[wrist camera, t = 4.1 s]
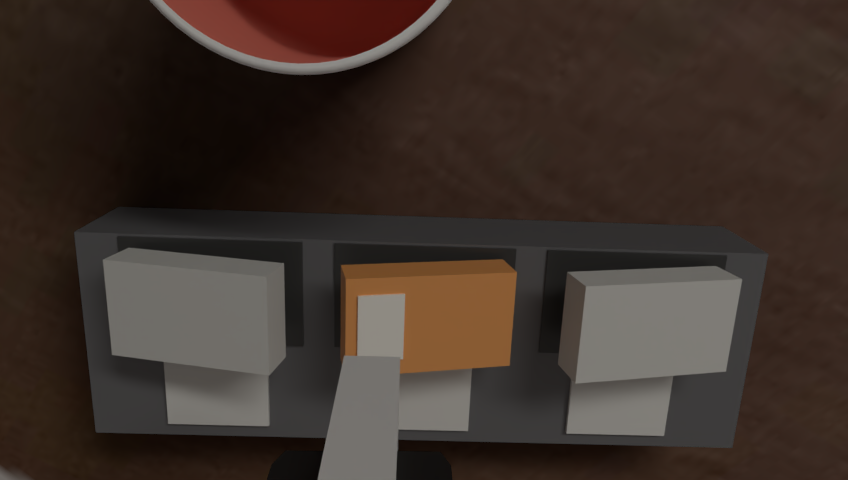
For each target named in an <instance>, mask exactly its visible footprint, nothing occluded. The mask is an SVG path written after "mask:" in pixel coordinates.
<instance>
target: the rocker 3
mask: <svg viewBox="0 0 848 480" xmlns="http://www.w3.org/2000/svg"><path fill="white" fill-rule="evenodd" d="M741 284H742V279H741V278H739V277H737V276H735V275H733V274H731V273H729V272H727V271H725V270H723V269H721V268H719V267H717V266H701V267H676V268H651V269H627V270H602V271H577V272H567V279H566V289H565V299H564V308H563V318H562V328H561V338H560V348H559V358H558V365H559V366H560V367H561V368H562V369H563V371H564V372H565V373H566V374H567V375H568V376H569V377H570V378H571V379H572V381H573V382H574V383H575V384H577V383H590V382H602V381H615V380H627V379H639V378H652V377H664V376H677V375H689V374H701V373H714V372H726V368H727V362H728V357H729V351H730V346H731V340H732V334H733V329H734V323H735V317H736V312H737V306H738V301H739V295H740V289H741Z"/></svg>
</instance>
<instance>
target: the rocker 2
mask: <svg viewBox="0 0 848 480" xmlns="http://www.w3.org/2000/svg"><path fill="white" fill-rule="evenodd" d="M516 279H517V272H516V271H515V270H514V269H513V268H512V267H511V266H510V265H508V264H507V263H506V262H505V261H504V260H503V259H496V260H467V261H439V262H411V263H382V264H354V265H341V339H340V359H341V363H343V358H344V356H385V357H400V374H402V373H416V372H429V371H443V370H457V369H471V368H485V367H498V366H510V353H511V341H512V329H513V316H514V304H515V291H516Z"/></svg>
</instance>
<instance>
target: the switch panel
mask: <svg viewBox="0 0 848 480" xmlns="http://www.w3.org/2000/svg"><path fill="white" fill-rule="evenodd" d="M74 236H75V245H76V254H77V264H78V273H79V282H80V291H81V300H82V310H83V319H84V328H85V337H86V346H87V356H88V365H89V374H90V383H91V392H92V402H93V411H94V420H95V429H96V433H136V434H178V435H220V436H261V437H303V438H327V433H328V428H329V424H330V419H331V414H332V410H333V405H334V400H335V396H336V391H337V386H338V382H339V377H340V372H341V368H342V363H341V359H340V339H341V265H354V264H382V263H411V262H439V261H467V260H496V259H503V260H504V261H505V262H506V263H507V264H508V265H510V266H511V267H512V268H513V269H514V270H515V271H516V272H517V279H516V291H515V304H514V316H513V329H512V341H511V353H510V366H498V367H485V368H471V369H457V370H443V371H429V372H416V373H402V374H400V386H399V425H398V440H428V441H470V442H512V443H553V444H595V445H637V446H679V447H720V448H732V446H733V440H734V435H735V430H736V424H737V419H738V414H739V408H740V403H741V398H742V392H743V387H744V382H745V376H746V371H747V365H748V360H749V355H750V349H751V344H752V339H753V333H754V328H755V323H756V317H757V312H758V307H759V301H760V296H761V291H762V285H763V280H764V274H765V269H766V264H767V258H768V254H767V253H766V252H764V251H762V250H761V249H759V248H757V247H756V246H754V245H752V244H751V243H749V242H747V241H746V240H744V239H742V238H741V237H739V236H737V235H736V234H734V233H732V232H731V231H729V230H727V229H726V228H724V227H721V226H691V225H660V224H630V223H599V222H569V221H538V220H507V219H477V218H446V217H416V216H385V215H355V214H324V213H293V212H263V211H232V210H202V209H171V208H140V207H117V208H116V209H114V210H112V211H110V212H109V213H107V214H105V215H103V216H102V217H100V218H98V219H96V220H94V221H93V222H91V223H89V224H87V225H86V226H84V227H82V228H80V229H79V230H77V231H75V232H74ZM127 248H138V249H148V250H158V251H168V252H177V253H187V254H197V255H207V256H217V257H227V258H237V259H247V260H257V261H267V262H277V263H284V288H285V338H286V357H285V358H284V360H283V361H282V362H281V363H280V364H279V365H278V366H277V367H276V369H275V370H274V371H273V372H272V373H271V374H270V375H269V376H268V375H261V374H253V373H246V372H238V371H230V370H223V369H215V368H208V367H200V366H192V365H185V364H177V363H169V362H162V361H154V360H147V359H139V358H131V357H124V356H116V355H112V349H111V339H110V329H109V318H108V308H107V298H106V288H105V277H104V267H103V259H105V258H107V257H110V256H112V255H114V254H116V253H118V252H120V251H123V250H125V249H127ZM701 266H717V267H719V268H721V269H723V270H725V271H727V272H729V273H731V274H733V275H735V276H737V277H739V278H741V279H742V284H741V289H740V295H739V301H738V306H737V312H736V317H735V323H734V329H733V334H732V340H731V346H730V351H729V357H728V362H727V368H726V372H714V373H701V374H689V375H677V376H664V377H652V378H639V379H627V380H615V381H602V382H590V383H577V384H575V383H574V382H573V381H572V379H571V378H570V377H569V376H568V375H567V374H566V373H565V372H564V371H563V369H562V368H561V367H560V366H559V365H558V358H559V348H560V338H561V328H562V318H563V308H564V299H565V289H566V279H567V272H577V271H602V270H627V269H651V268H676V267H701Z"/></svg>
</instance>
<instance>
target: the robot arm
mask: <svg viewBox="0 0 848 480" xmlns="http://www.w3.org/2000/svg"><path fill="white" fill-rule="evenodd" d="M399 386H400V357H385V356H344V358H343V363H342V368H341V372H340V377H339V382H338V386H337V391H336V396H335V400H334V405H333V410H332V414H331V419H330V424H329V428H328V433H327V438H326V442H325V447H324V451H285V452H284V453H283V454H282V455H281V456H280V457H279V458H278V459H277V460H276V461H275V462H274V463H273V464H272V466H271V469H270V472H269V475H268V478H267V480H452V472H451V465H450V464H449V462H448V461H447V460H446V458H445V457H444V456H443V454H442V453H441V452H422V451H398V425H399Z"/></svg>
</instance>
